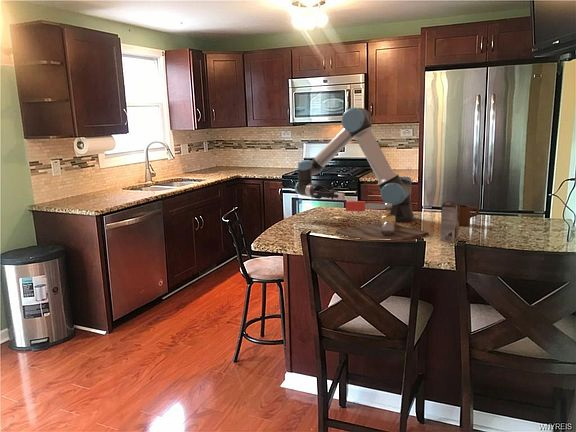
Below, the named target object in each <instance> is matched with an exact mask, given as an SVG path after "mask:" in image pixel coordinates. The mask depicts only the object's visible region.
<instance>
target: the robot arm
mask: <svg viewBox="0 0 576 432" xmlns="http://www.w3.org/2000/svg"><path fill="white" fill-rule="evenodd" d="M371 120H372V117H371V114H370V112H369V110H367V109H366V108H363V107H351V108H348V109H346V110H345V111H344V113H343V114H342V117H341V125H342V127H343V128H342V129H341V130H340V131H339V132H338V133H337V134H336V135H335V136H334V137H333V138H332V139H331V140H330V141H329V142H328V143H327V144H326V145H325V147H323V149H322V150H320V152H318V153H317V155H316V156H314V158H313V159H312V160H310V159H304V160H303V159H301V160H298V162H297V163H298V164H297V176H298V177H297V178H298V179H297V180H298V181H297V182H296V183H295V185H294V191H295V193H296V194H298V195H300V196H303V197H310V198H311V199H317V200H319V199H322V198H325V199H326V198H327V199H331V200H334V199H336V200H341V201H342V200H343V201H344V200H345V196H346V195H345V193H343V192H342V193H341V192H340V191H338V190H335V189H327V188H325V187H324V186H323V185H322V184H318V183H313V181H312V180H313V177H312V176H315V175H319V174H320V173H321V172H322V171H323V169H324V168H325V167H326V166H327V164H329V163H330V161H331V160H333V159H334V158H335V157H336V156H337V154H339V153H340V151H342V150H343V149H344V148H345V147H346V146H347V145H348V144H349V143H350V141H352V140H356V142H357V144H358V145H359V147H360V149H361V151H362V153H363V155H364V157H365V158H366V160H367V162H368V164H369V166H370V168H371V170H372V172H373V173H374V175H375V177H376V179H377V181H378V182H377V187H378V189H379V191H380V198H381V200H382V201H383V202H384V204H385V203H392V209H390V214H391V215H395V222H397V223H399V222H400V223H402V222H410V221H411V222H412V221H414V220H415V214H414V212H413V208H412V177H410V176H399V174H398V173H395V172H394V170H393V169H392V166H391V165H390V163H389V162H388V160H387V158H386V156H385V154H384V152H383V150H382V147H380V144H379V143H378V141H377V138H375V136H374V134H373V132H372V130H373V125H372V123H371V122H372V121H371ZM385 214H387V212H386V213H385Z"/></svg>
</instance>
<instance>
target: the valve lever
mask: <svg viewBox="0 0 576 432" xmlns="http://www.w3.org/2000/svg"><path fill="white" fill-rule="evenodd" d="M390 209H392V203H385V202H384V203H368V202H367V203H366V201H365V200H363V201H362V200H346V201H345V211H346V212H365V211H366V210H386V211H387V210H390Z"/></svg>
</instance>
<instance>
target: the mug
mask: <svg viewBox="0 0 576 432" xmlns="http://www.w3.org/2000/svg"><path fill="white" fill-rule="evenodd" d="M472 211H475V212H474V213H473V212H472ZM471 212H472V213H471ZM479 214H480V209H479V207H477V206H470V205H467V204H466V205H465V204H460V211H459V227H468V226H470V223H471V218H474V217H477V216H478V215H479Z"/></svg>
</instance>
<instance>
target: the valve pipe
mask: <svg viewBox="0 0 576 432" xmlns="http://www.w3.org/2000/svg"><path fill="white" fill-rule="evenodd" d="M386 213H387V214H386ZM386 213H385V214H382V215H381V222H382V224H381V232H382V234H383V235H384V236H393V235H394V233H395V225H396V221H395V215H391V214H390V210H387V209H386Z"/></svg>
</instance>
